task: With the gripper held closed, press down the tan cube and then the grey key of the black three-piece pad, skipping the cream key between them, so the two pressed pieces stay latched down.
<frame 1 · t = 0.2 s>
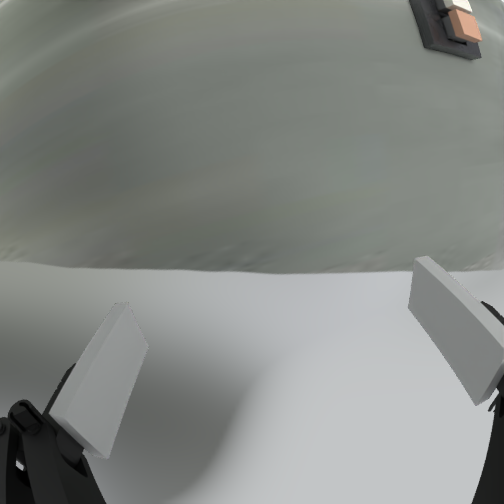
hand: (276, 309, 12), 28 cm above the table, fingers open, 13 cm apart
cream key: (450, 1, 19), point 5 cm above the table, slide at 0.0 cm
tan cube: (460, 27, 21), point 5 cm above the table, slide at 0.0 cm
keypad base: (435, 8, 23), on the table
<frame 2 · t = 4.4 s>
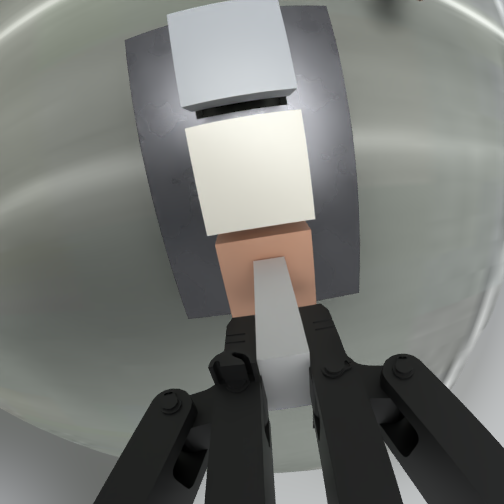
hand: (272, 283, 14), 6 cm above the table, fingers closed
cream key: (251, 166, 13), point 5 cm above the table, slide at 0.0 cm
tan cube: (266, 258, 16), point 4 cm above the table, slide at 1.2 cm, touching gripper
grey key: (232, 61, 11), point 5 cm above the table, slide at 0.0 cm
keypad base: (250, 159, 17), on the table
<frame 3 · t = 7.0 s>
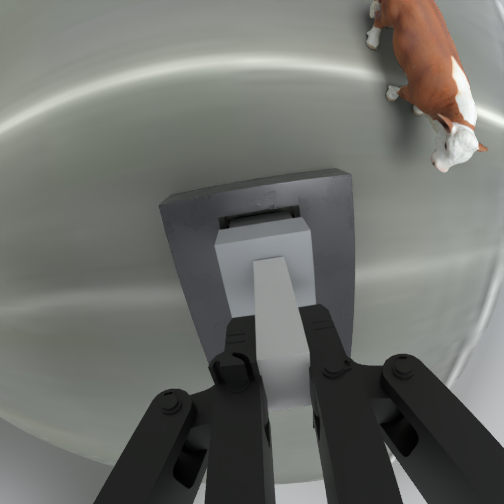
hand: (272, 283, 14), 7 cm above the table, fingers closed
bull figurine: (393, 77, 16), on the table
grey key: (266, 258, 16), point 4 cm above the table, slide at 0.4 cm, touching gripper
keypad base: (272, 295, 23), on the table
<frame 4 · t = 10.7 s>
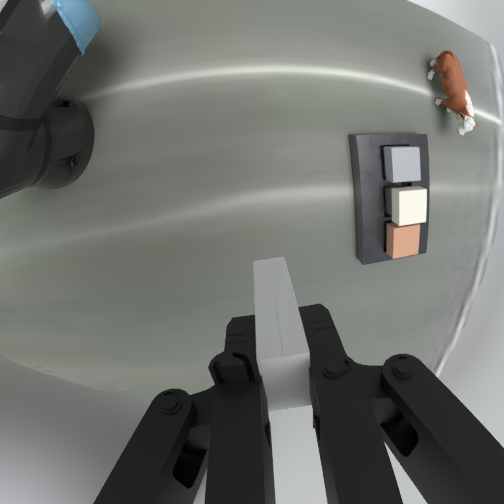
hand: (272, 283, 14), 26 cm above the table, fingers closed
cream key: (404, 202, 34), point 5 cm above the table, slide at 0.0 cm
bull figurine: (437, 94, 31), on the table
tan cube: (398, 235, 37), point 3 cm above the table, slide at 1.5 cm
grey key: (397, 162, 33), point 3 cm above the table, slide at 1.5 cm
keypad base: (389, 194, 38), on the table
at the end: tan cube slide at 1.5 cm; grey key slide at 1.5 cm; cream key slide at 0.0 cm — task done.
